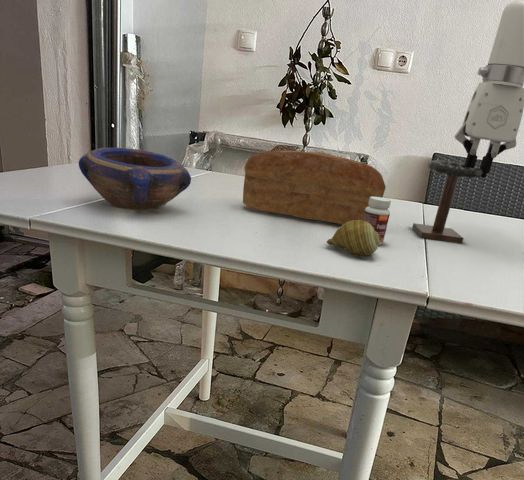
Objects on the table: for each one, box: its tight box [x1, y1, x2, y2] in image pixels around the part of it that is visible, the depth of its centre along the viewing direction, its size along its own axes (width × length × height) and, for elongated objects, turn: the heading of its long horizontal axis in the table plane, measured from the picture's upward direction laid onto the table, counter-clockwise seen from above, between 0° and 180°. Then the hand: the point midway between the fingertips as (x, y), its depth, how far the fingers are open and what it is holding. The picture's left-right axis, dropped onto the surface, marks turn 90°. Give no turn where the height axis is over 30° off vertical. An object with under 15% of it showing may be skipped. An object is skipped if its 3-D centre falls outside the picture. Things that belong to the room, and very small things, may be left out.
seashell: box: [326, 220, 382, 258], centre depth 89 cm, size 10×7×8 cm
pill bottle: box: [363, 197, 392, 246], centre depth 97 cm, size 5×5×8 cm
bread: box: [242, 149, 386, 226], centre depth 111 cm, size 12×31×14 cm, turn 78°
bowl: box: [78, 147, 192, 211], centre depth 98 cm, size 18×18×10 cm
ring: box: [427, 159, 483, 179], centre depth 107 cm, size 11×11×2 cm
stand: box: [411, 175, 464, 244], centre depth 110 cm, size 9×9×13 cm
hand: (474, 175), depth 107 cm, fingers closed on ring, 2 cm apart
